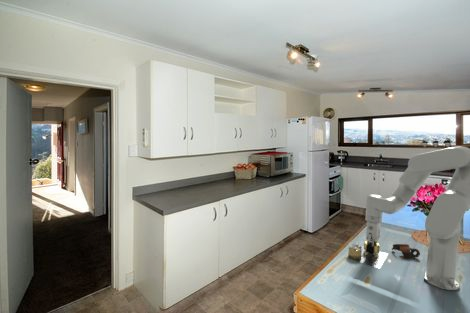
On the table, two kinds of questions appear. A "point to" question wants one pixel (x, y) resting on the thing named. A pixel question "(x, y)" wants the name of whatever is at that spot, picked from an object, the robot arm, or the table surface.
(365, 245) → the planet gear
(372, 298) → the table surface
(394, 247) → the brown clawed ring bracket
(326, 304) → the table surface
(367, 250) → the robot arm
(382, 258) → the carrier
